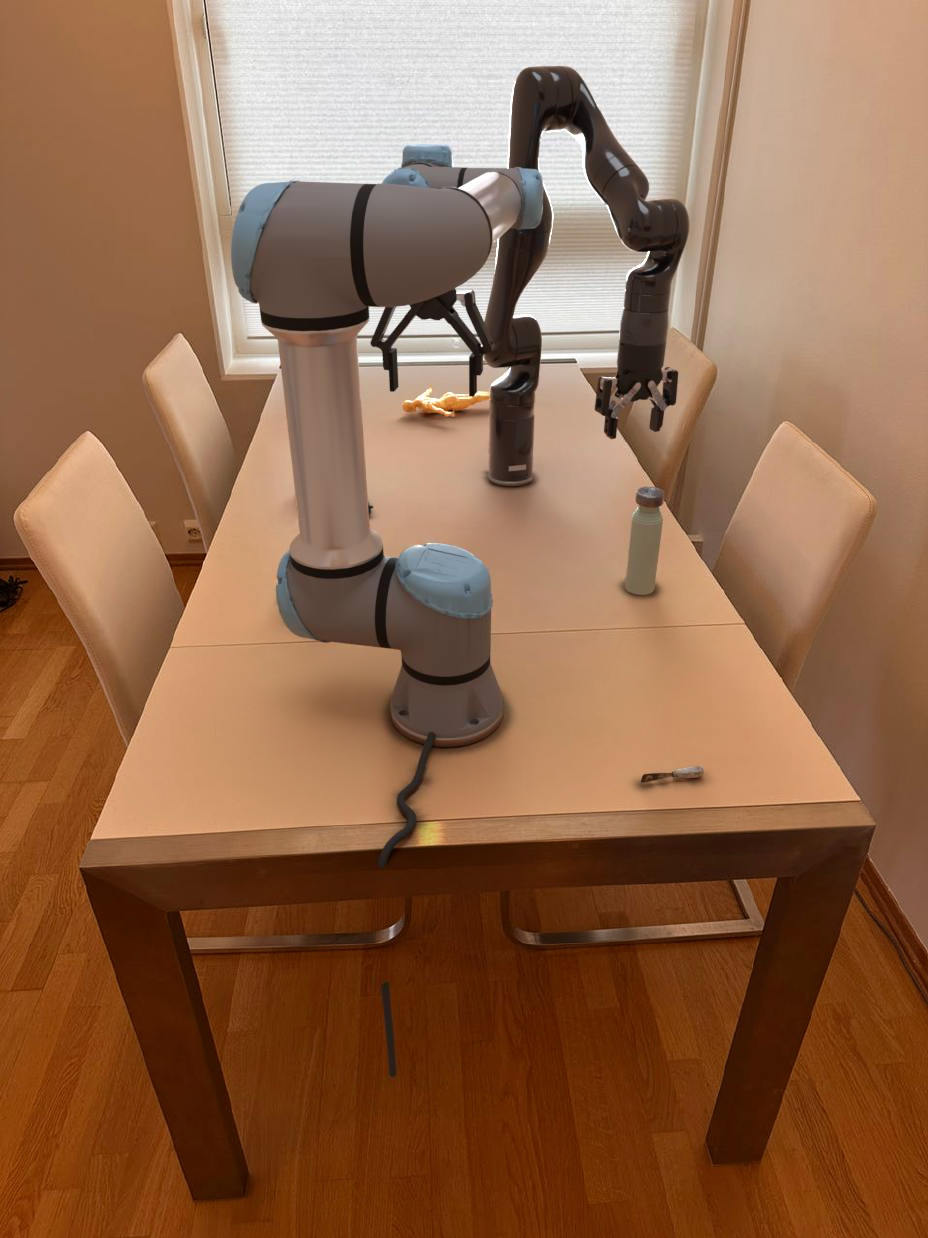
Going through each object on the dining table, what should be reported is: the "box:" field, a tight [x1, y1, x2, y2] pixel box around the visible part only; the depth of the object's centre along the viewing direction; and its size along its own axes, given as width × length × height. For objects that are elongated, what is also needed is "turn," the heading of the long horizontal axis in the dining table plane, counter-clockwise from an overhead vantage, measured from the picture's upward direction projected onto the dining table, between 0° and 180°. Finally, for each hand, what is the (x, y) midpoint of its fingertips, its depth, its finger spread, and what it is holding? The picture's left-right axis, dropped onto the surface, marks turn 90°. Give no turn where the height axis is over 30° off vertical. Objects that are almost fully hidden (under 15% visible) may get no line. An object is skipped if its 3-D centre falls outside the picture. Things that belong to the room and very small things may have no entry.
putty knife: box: [640, 765, 705, 784], centre depth 109 cm, size 1×8×2 cm, turn 103°
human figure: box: [402, 385, 490, 418], centre depth 225 cm, size 20×20×4 cm
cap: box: [635, 486, 666, 508], centre depth 141 cm, size 4×4×2 cm
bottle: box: [624, 505, 664, 596], centre depth 145 cm, size 5×5×17 cm
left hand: (433, 391), depth 149 cm, fingers open, 13 cm apart
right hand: (632, 433), depth 151 cm, fingers open, 8 cm apart
